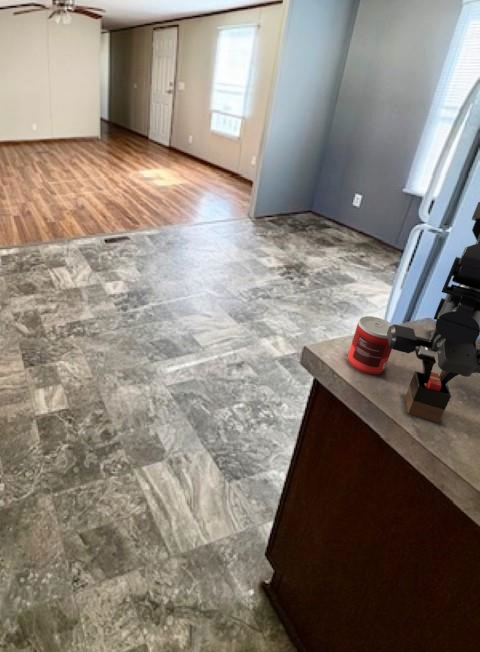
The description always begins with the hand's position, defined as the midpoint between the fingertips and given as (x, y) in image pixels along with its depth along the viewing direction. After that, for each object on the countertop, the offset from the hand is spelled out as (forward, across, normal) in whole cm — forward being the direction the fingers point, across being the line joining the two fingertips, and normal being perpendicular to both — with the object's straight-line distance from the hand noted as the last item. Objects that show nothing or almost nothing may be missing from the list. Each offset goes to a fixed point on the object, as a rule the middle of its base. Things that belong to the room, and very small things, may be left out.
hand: (431, 383), depth 85 cm
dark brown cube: (+7, 0, 0) cm, 7 cm away
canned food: (+7, -10, +11) cm, 16 cm away
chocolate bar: (+1, 0, 0) cm, 1 cm away
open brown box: (+3, 0, 0) cm, 3 cm away
